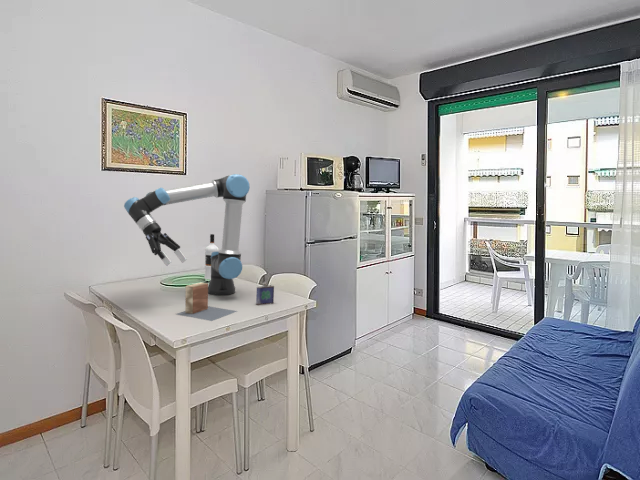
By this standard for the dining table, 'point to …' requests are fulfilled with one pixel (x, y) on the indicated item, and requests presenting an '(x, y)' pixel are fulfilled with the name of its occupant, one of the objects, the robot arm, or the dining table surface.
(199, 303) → the wooden block
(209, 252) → the vodka
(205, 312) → the mat
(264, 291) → the flask
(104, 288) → the dining table surface
